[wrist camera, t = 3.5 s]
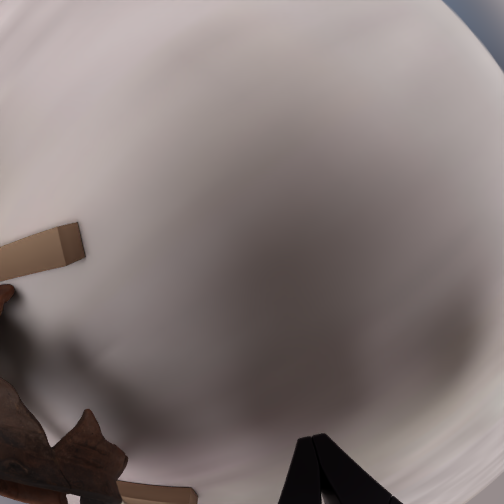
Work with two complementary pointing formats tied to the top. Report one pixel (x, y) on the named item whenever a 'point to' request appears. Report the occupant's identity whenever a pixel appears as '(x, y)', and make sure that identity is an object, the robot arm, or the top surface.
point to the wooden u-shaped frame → (58, 255)
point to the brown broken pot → (54, 454)
